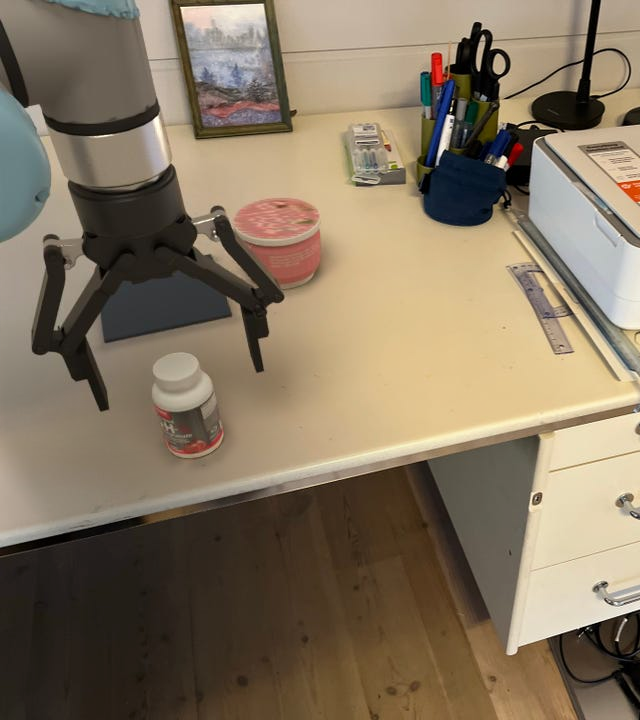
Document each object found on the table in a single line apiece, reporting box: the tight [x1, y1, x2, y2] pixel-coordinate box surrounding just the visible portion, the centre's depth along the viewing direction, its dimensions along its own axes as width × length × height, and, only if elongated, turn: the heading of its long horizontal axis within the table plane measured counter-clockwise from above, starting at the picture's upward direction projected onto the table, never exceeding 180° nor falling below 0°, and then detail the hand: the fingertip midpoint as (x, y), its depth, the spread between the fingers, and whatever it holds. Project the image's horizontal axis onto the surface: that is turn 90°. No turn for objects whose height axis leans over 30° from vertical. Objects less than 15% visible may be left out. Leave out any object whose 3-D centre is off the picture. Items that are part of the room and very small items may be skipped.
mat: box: [100, 253, 233, 344], centre depth 92 cm, size 14×14×1 cm
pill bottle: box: [151, 351, 225, 459], centre depth 71 cm, size 5×5×10 cm
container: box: [232, 197, 322, 290], centre depth 94 cm, size 10×10×8 cm
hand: (183, 382), depth 69 cm, fingers open, 13 cm apart
